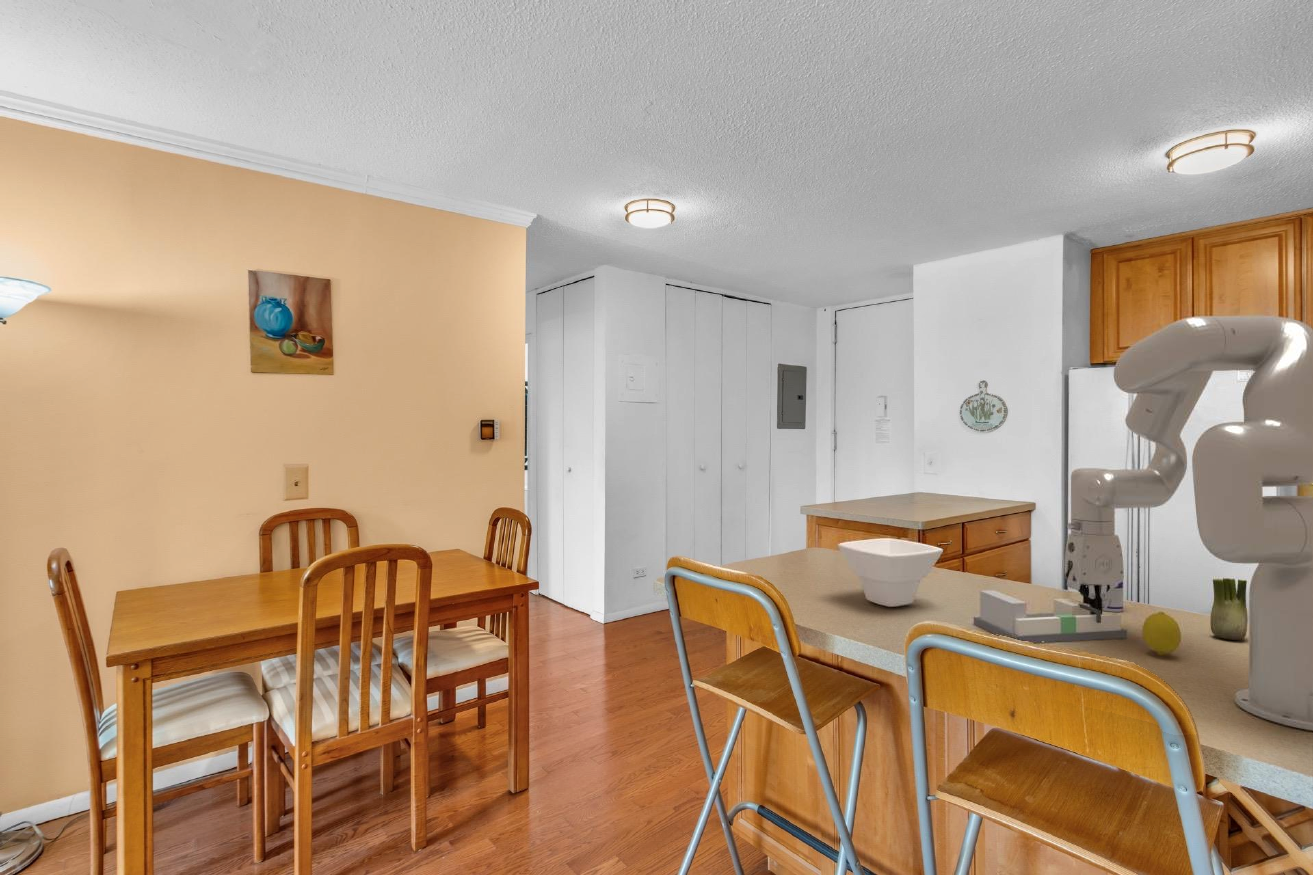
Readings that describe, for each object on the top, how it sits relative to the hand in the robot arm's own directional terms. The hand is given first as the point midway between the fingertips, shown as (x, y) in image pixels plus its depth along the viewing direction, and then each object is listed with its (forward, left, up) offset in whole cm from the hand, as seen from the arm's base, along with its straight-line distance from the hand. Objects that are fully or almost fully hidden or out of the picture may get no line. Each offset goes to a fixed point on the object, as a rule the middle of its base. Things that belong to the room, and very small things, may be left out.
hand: (1092, 615), depth 133 cm
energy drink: (+12, -15, -3) cm, 19 cm away
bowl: (+24, +32, -3) cm, 40 cm away
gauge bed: (0, +10, -3) cm, 11 cm away
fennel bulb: (-10, -21, -3) cm, 23 cm away
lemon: (-16, 0, -3) cm, 16 cm away
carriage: (-2, +4, -1) cm, 5 cm away
